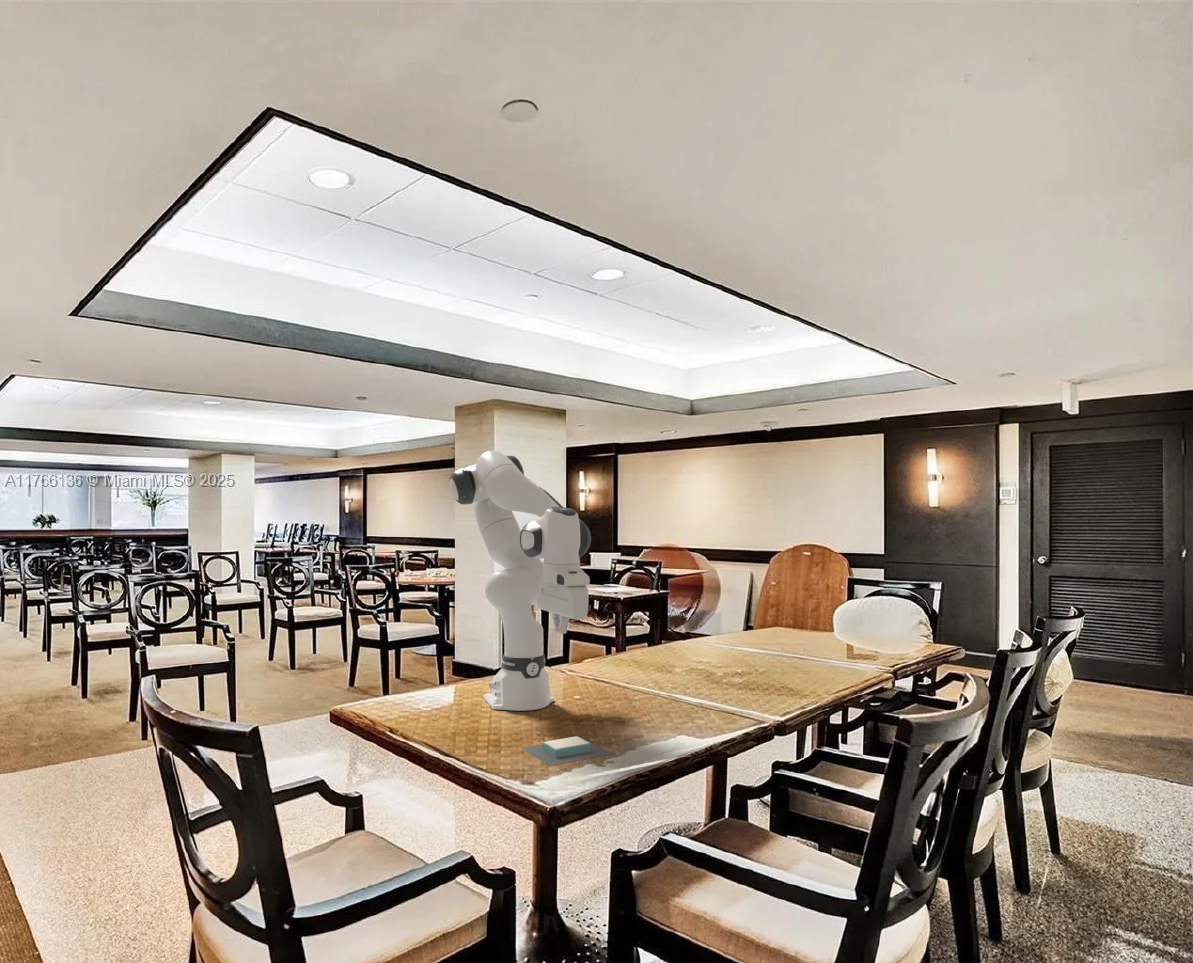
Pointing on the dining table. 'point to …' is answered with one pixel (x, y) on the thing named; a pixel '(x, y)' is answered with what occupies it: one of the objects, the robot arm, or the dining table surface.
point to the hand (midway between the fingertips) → (560, 632)
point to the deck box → (566, 746)
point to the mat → (551, 761)
